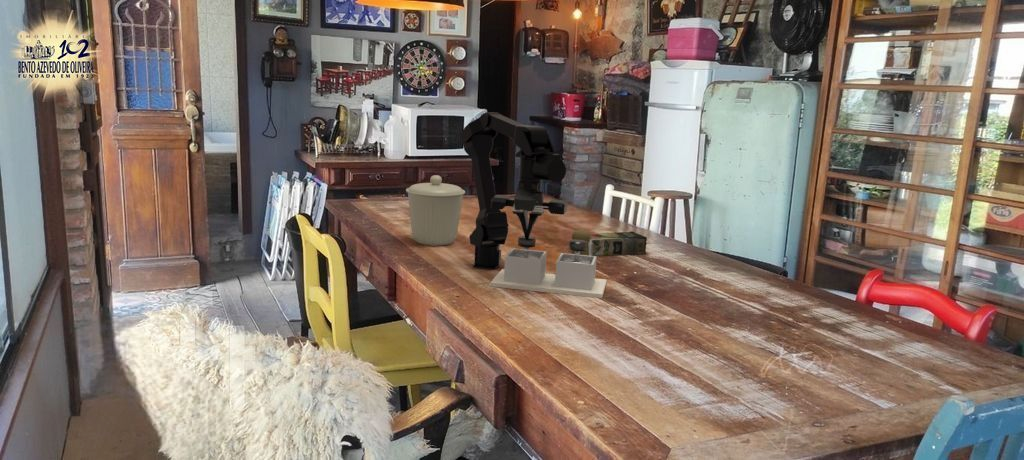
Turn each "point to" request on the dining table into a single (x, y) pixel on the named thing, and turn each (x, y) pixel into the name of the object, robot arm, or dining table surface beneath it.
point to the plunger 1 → (526, 247)
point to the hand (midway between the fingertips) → (527, 237)
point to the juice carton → (617, 244)
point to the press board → (550, 275)
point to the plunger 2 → (577, 251)
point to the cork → (582, 236)
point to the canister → (434, 211)
